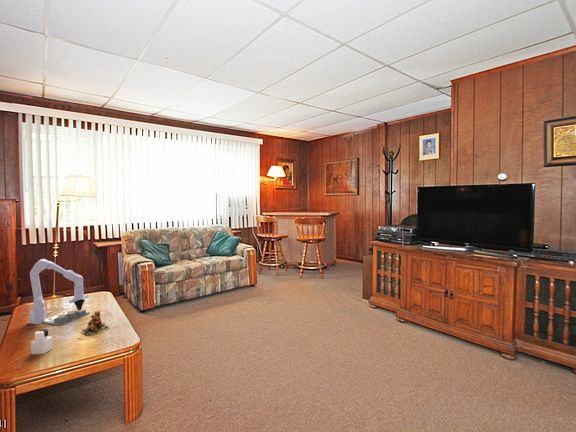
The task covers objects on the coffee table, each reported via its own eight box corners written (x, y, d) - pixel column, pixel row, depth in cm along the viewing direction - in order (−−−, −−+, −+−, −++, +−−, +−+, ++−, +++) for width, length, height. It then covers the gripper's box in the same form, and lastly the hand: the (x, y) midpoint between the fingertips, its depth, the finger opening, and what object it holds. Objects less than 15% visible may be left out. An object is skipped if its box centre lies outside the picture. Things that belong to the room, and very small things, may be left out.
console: (39, 322, 217) (38, 318, 217) (70, 311, 240) (70, 306, 240) (59, 325, 213) (58, 320, 213) (89, 313, 236) (89, 309, 236)
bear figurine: (76, 333, 201) (76, 315, 200) (98, 325, 215) (98, 307, 214) (90, 337, 195) (90, 318, 195) (112, 328, 209) (112, 310, 209)
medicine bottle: (39, 348, 179) (39, 328, 179) (52, 348, 180) (52, 327, 180) (30, 354, 172) (30, 333, 172) (44, 354, 173) (43, 333, 172)
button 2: (74, 314, 231) (74, 310, 231) (79, 312, 235) (79, 308, 234) (79, 314, 230) (79, 310, 230) (83, 313, 234) (83, 309, 233)
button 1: (56, 318, 217) (56, 314, 217) (61, 316, 221) (61, 312, 221) (60, 319, 216) (60, 315, 216) (66, 317, 220) (66, 313, 220)
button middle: (65, 315, 224) (65, 311, 224) (71, 313, 228) (70, 309, 228) (70, 315, 223) (70, 311, 223) (75, 313, 227) (75, 309, 227)
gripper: (74, 295, 223) (74, 313, 224) (91, 289, 237) (92, 307, 238) (66, 294, 225) (67, 312, 226) (84, 289, 239) (84, 306, 240)
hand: (79, 309), depth 232 cm, fingers closed, pressing on button 2
